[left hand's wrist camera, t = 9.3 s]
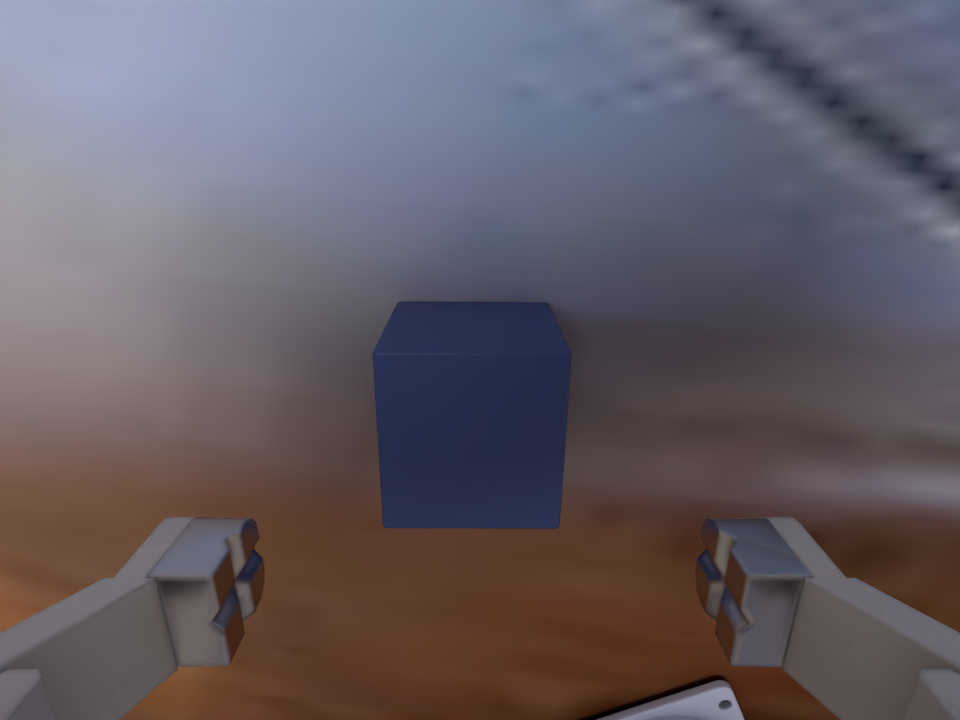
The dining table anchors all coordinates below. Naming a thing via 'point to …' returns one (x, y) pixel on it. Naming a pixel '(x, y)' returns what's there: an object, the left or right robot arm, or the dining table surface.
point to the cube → (471, 415)
